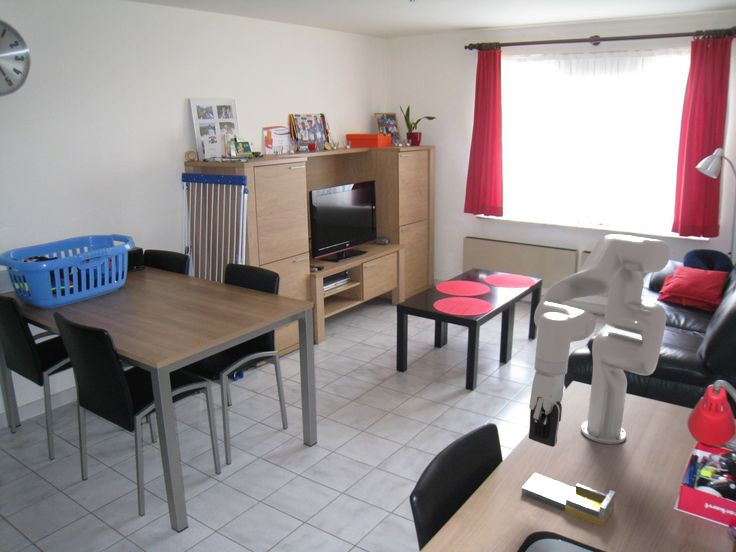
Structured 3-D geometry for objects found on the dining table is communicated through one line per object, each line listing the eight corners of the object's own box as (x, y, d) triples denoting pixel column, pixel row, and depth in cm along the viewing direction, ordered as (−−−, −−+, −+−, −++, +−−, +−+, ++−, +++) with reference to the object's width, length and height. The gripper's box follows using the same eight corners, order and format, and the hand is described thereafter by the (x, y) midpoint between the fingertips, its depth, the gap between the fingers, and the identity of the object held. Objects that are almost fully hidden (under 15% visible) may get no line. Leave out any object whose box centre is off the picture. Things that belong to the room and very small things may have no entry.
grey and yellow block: (534, 479, 157) (535, 462, 156) (613, 509, 145) (615, 491, 144) (521, 494, 151) (523, 476, 149) (602, 527, 139) (605, 508, 138)
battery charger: (560, 442, 148) (564, 399, 145) (554, 448, 145) (558, 405, 142) (533, 433, 152) (537, 391, 149) (527, 439, 149) (530, 397, 146)
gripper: (549, 350, 151) (542, 416, 156) (521, 371, 139) (515, 442, 143) (578, 357, 147) (571, 425, 152) (553, 380, 134) (546, 452, 139)
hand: (544, 432), depth 148 cm, fingers closed on battery charger, 3 cm apart
